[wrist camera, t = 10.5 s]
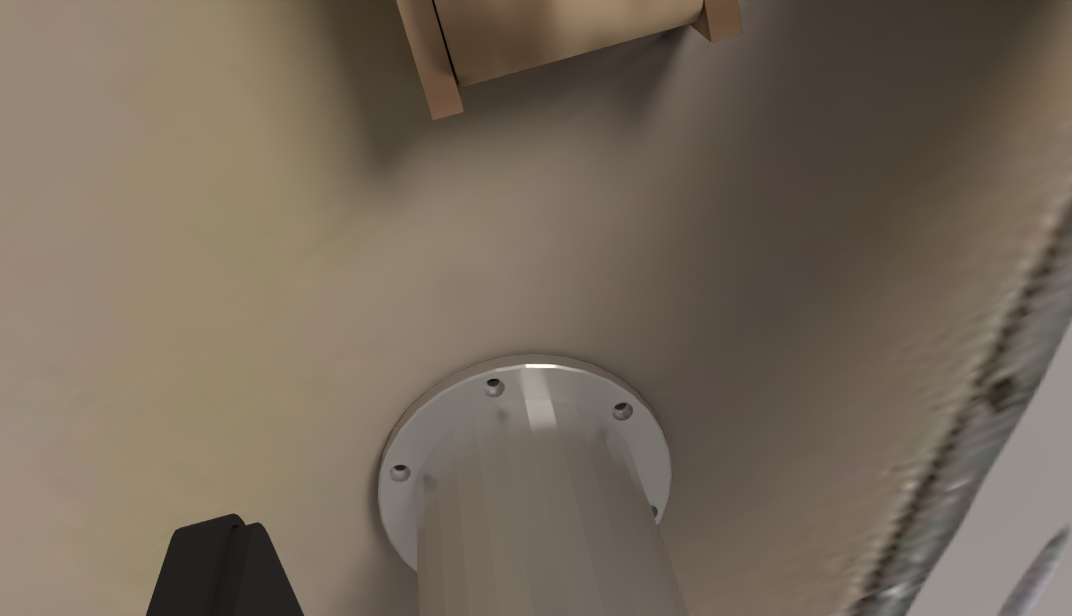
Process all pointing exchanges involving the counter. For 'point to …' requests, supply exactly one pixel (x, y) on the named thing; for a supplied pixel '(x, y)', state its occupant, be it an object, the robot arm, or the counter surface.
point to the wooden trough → (536, 35)
